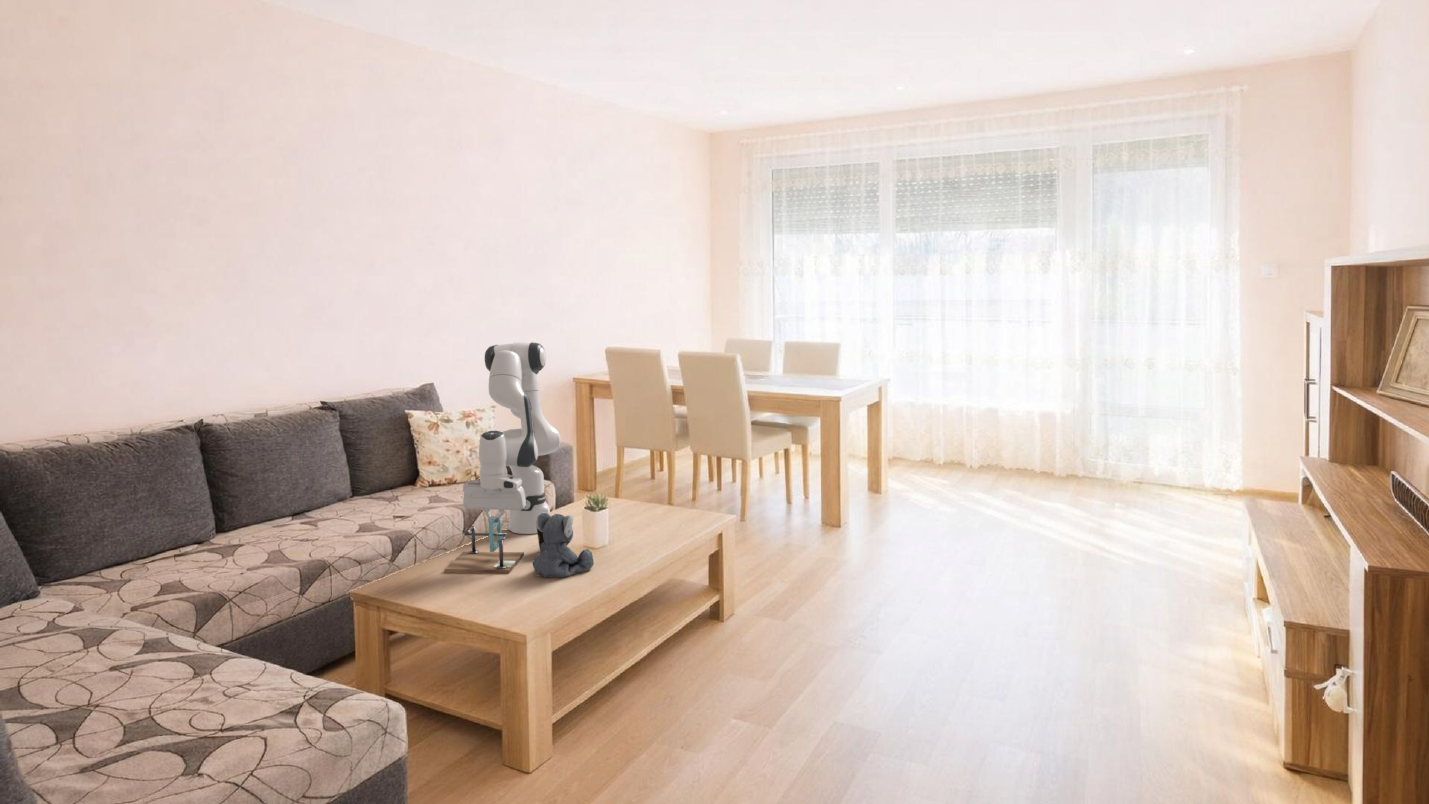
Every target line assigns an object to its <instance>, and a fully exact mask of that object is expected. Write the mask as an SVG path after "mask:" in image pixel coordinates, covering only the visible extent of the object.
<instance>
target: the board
mask: <svg viewBox="0 0 1429 804" xmlns="http://www.w3.org/2000/svg"><path fill="white" fill-rule="evenodd" d="M469 552H470V551H462V552H461V553H460V554H459V555H458V556H456V558H455V559H454V560H453V561H452V562H451V563H449V564H448V565H447V566H446V567H445V568H444V573H447V574H448V573H450V574H452V573H453V574H455V573H456V574H509V575H510V573H511V572H512V571H513V570H514V568H515V567H516V566H517V565H518V564H519V562H520V561H521V560H522V559H523V558H524V557H525V552H523V551H503V565H506V568H505V569H497V566H499V565H500V560H499V551H494V552H490V551H479V552H478V553H476V554H470V553H469Z"/></svg>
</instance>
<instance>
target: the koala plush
mask: <svg viewBox="0 0 1429 804" xmlns="http://www.w3.org/2000/svg"><path fill="white" fill-rule="evenodd" d="M536 517H537V520H536V527H537V529H539V530H540V531H541V532H543V538H544V542H543V543H542V544H541V547H540V548H539V553H538V555H537V556H535V557H534V559H533V561H532V567H533V569H534V572H535V575H536V576H537V577H538V576H539V577H541V578H548V579H549V578H552V577H555V578H559V579H560V578H565V577H571V576H572V575H574V574H580V573H581V574H582V573H584V572H585V573H586V572H587V571H589V570H590V569H592V568H593V566H594V565H595V563H594V557H593V551H592V550H591V549H588V548H586V549H583V550H581V552H579V555H577V553H575V552H574V551H573V550H572V549H571V548H570V547H569V546H568V545H569V544H570V543H571V541H572V539H573V537H574V529H573V523H574V516H573V515H571V514H570V515H566V516H565V515H564V514H561V513H555V514H553V515H551V514H550V515H549V514H548V513H545V512H541V513H539V514H538V516H536Z"/></svg>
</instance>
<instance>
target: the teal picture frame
mask: <svg viewBox="0 0 1429 804" xmlns="http://www.w3.org/2000/svg"><path fill="white" fill-rule="evenodd" d="M499 515H500V513H499V514H498V513H497V514H496V515H495V516H494V518H493V519H491V520H490V521H489V522H488V533H489V536H488V537H489V538H488V539H489V552H496V550H497V549H499V540H501V539H502V538H503V536H496V538H497V539H496V540H497V541H496V542H495V536H494V533H495V528H496V533H502V531H503V530H502V522H501V523H500V522H496V517H497V516H499Z"/></svg>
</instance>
